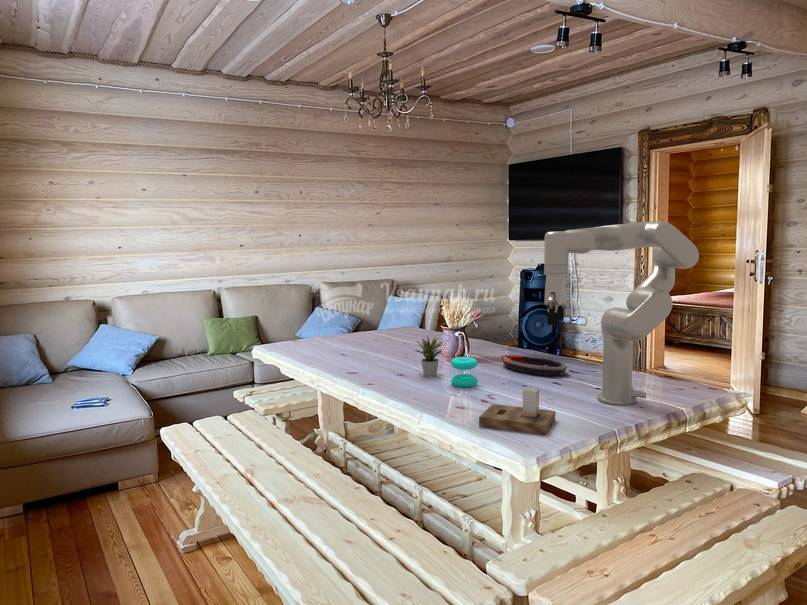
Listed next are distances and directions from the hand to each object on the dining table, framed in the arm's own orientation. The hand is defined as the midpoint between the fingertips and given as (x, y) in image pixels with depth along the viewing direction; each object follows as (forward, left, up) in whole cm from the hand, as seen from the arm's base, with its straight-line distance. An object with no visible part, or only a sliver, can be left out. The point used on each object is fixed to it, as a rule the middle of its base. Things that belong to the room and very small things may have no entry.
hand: (555, 322), depth 196 cm
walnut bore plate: (+7, +21, -28) cm, 36 cm away
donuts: (+37, -15, -29) cm, 49 cm away
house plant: (+54, -23, -28) cm, 65 cm away
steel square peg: (+3, +21, -28) cm, 35 cm away
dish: (+18, -46, -29) cm, 57 cm away
